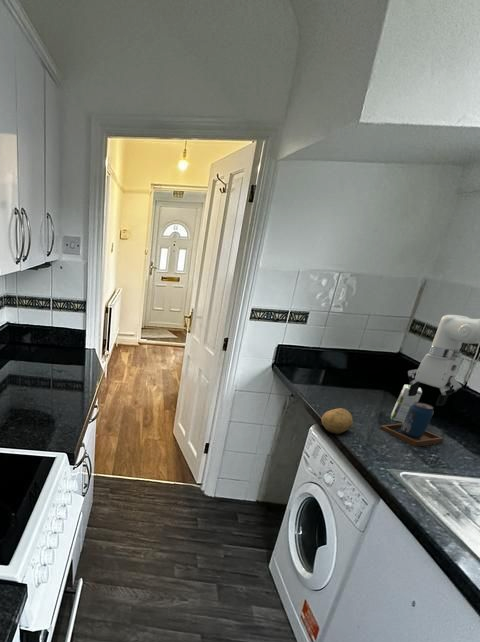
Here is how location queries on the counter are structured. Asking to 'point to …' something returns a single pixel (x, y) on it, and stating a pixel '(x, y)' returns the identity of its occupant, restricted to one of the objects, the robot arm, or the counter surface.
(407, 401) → the syrup box
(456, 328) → the robot arm
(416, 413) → the soda can
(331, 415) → the potato
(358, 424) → the counter surface
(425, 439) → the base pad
